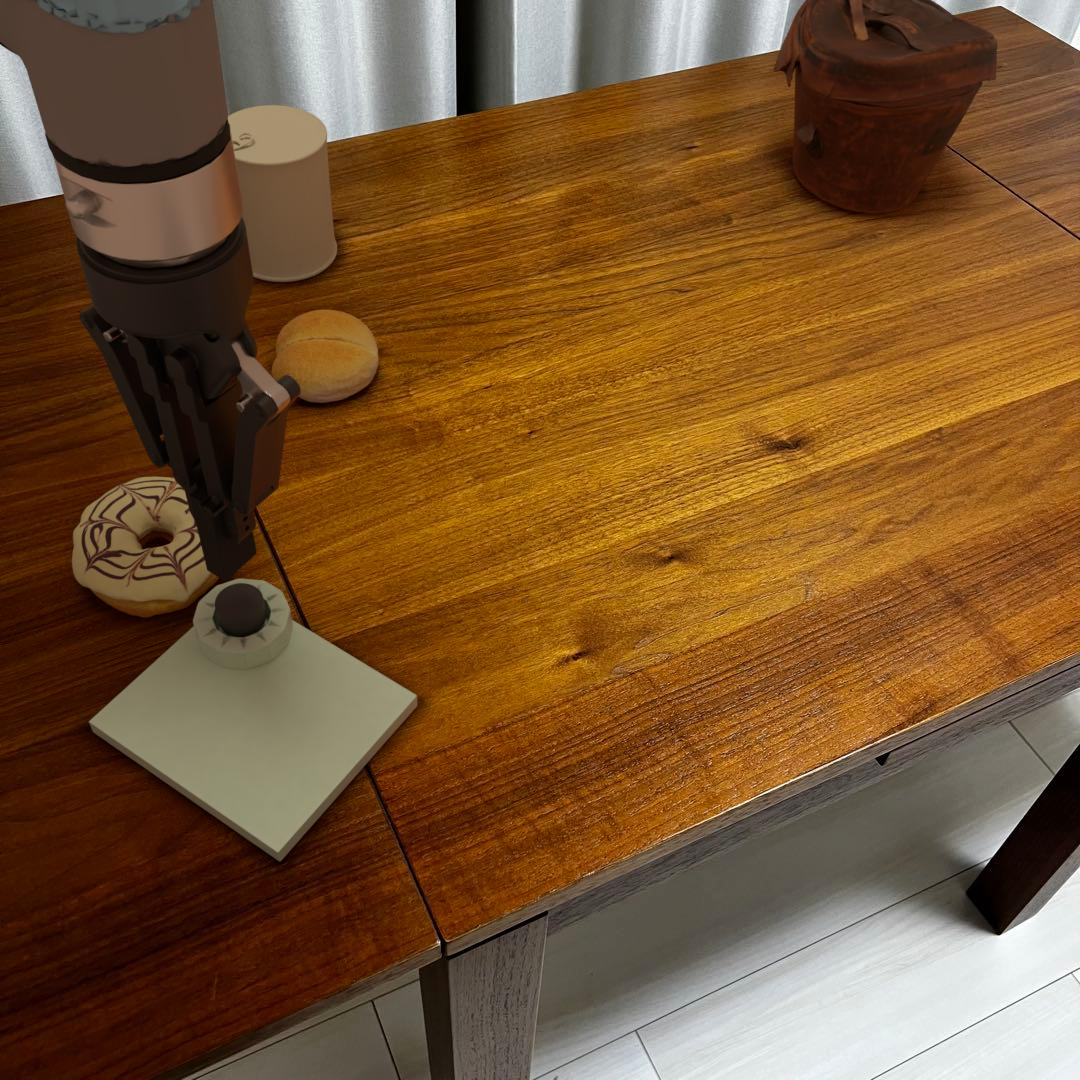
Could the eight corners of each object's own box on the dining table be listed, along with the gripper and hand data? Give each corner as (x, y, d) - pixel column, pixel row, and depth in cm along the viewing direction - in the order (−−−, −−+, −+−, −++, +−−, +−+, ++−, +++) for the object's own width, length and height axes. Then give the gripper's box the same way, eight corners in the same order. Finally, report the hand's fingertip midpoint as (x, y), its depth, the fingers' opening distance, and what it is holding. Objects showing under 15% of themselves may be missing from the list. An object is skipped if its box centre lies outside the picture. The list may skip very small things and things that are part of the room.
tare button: (208, 622, 76) (204, 605, 74) (241, 592, 77) (237, 575, 76) (244, 644, 75) (240, 627, 73) (276, 613, 76) (273, 596, 75)
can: (211, 245, 106) (190, 121, 97) (298, 210, 111) (285, 87, 102) (270, 296, 102) (253, 171, 93) (358, 257, 106) (350, 134, 97)
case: (785, 111, 128) (824, -62, 114) (969, 164, 123) (1033, -11, 109) (728, 191, 117) (764, 10, 104) (927, 253, 112) (993, 71, 99)
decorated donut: (55, 612, 79) (40, 576, 76) (114, 495, 86) (102, 458, 83) (210, 633, 78) (201, 597, 75) (256, 514, 85) (249, 477, 83)
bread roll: (269, 407, 93) (263, 367, 90) (282, 333, 99) (277, 294, 96) (376, 409, 93) (373, 370, 90) (382, 336, 99) (380, 297, 96)
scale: (92, 732, 73) (81, 705, 71) (244, 593, 81) (238, 564, 78) (280, 862, 68) (274, 837, 66) (422, 701, 76) (421, 674, 74)
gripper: (-6, 210, 54) (107, 552, 72) (208, 319, 50) (272, 654, 67) (118, 142, 58) (196, 480, 76) (325, 236, 54) (357, 571, 72)
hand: (232, 561), depth 72 cm, fingers closed
